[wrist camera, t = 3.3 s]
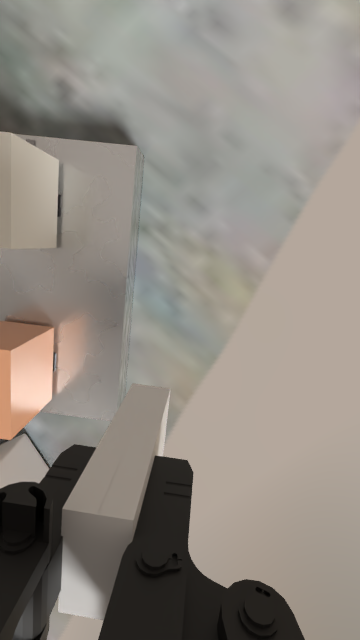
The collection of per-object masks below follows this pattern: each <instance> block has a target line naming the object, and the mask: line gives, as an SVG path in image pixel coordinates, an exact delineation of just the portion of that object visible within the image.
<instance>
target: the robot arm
mask: <svg viewBox="0 0 360 640" xmlns="http://www.w3.org/2000/svg"><path fill="white" fill-rule="evenodd" d="M169 397H170V389H169V388H162V387H154V386H147V385H140V384H132V386H131V387H130V389H129V391H128V393H127V394H126V396H125V398H124V400H123V402H122V403H121V405H120V407H119V409H118V410H117V412H116V414H115V416H114V418H113V419H112V421H111V423H110V425H109V426H108V428H107V430H106V432H105V434H104V435H103V437H102V439H101V441H100V442H99V444H98V446H97V448H95V447H88V446H82V445H75V444H74V445H73V446H71V447H70V448H68V449H67V450H65V451H64V452H62V453H61V454H60V455H59V457H58V458H57V459H56V461H55V462H54V463H53V465H52V467H51V468H50V469H49V470H48V472H47V473H46V475H45V477H43V479H42V480H41V482H40V483H36V482H18V483H14V484H9V485H7V486H5V487H3V488H1V489H0V640H47V635H48V631H49V616H50V614H51V612H52V609H53V607H54V605H55V602H56V600H57V598H58V595H59V604H58V612H61V613H67V614H72V615H78V616H84V617H89V618H94V619H100V620H104V621H103V625H102V628H101V632H100V636H99V639H98V640H305V639H304V637H303V635H302V632H301V630H300V628H299V626H298V623H297V621H296V619H295V616H294V614H293V612H292V610H291V609H290V607H289V606H288V604H287V602H286V601H285V599H284V598H283V597H282V596H281V595H280V594H279V593H277V592H276V591H275V590H274V589H273V588H272V587H270V586H268V585H266V584H264V583H262V582H260V581H254V580H242V581H239V582H235V583H233V584H232V585H231V586H230V587H229V588H228V589H227V588H225V587H223V586H221V585H220V584H218V583H216V582H214V581H212V580H211V579H209V578H207V577H206V576H204V575H203V574H202V573H201V572H200V571H199V570H198V569H197V568H196V566H195V565H194V563H193V562H192V560H191V557H190V554H189V552H188V533H189V521H190V508H191V495H192V483H193V471H192V469H191V467H190V465H189V463H188V461H187V460H182V459H175V458H169V457H162V455H163V451H164V442H165V433H166V424H167V415H168V406H169Z"/></svg>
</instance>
